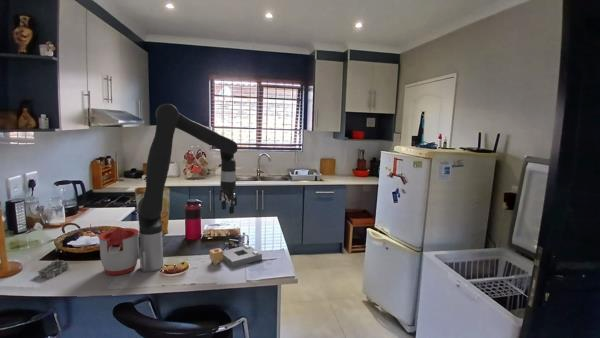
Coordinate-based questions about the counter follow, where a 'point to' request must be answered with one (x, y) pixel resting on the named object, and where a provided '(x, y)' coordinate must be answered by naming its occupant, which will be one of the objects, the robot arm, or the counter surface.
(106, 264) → the citrus juicer
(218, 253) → the plug
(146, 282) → the counter surface
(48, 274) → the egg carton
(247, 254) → the socket plate
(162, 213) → the pancake mix bag
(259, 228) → the counter surface
